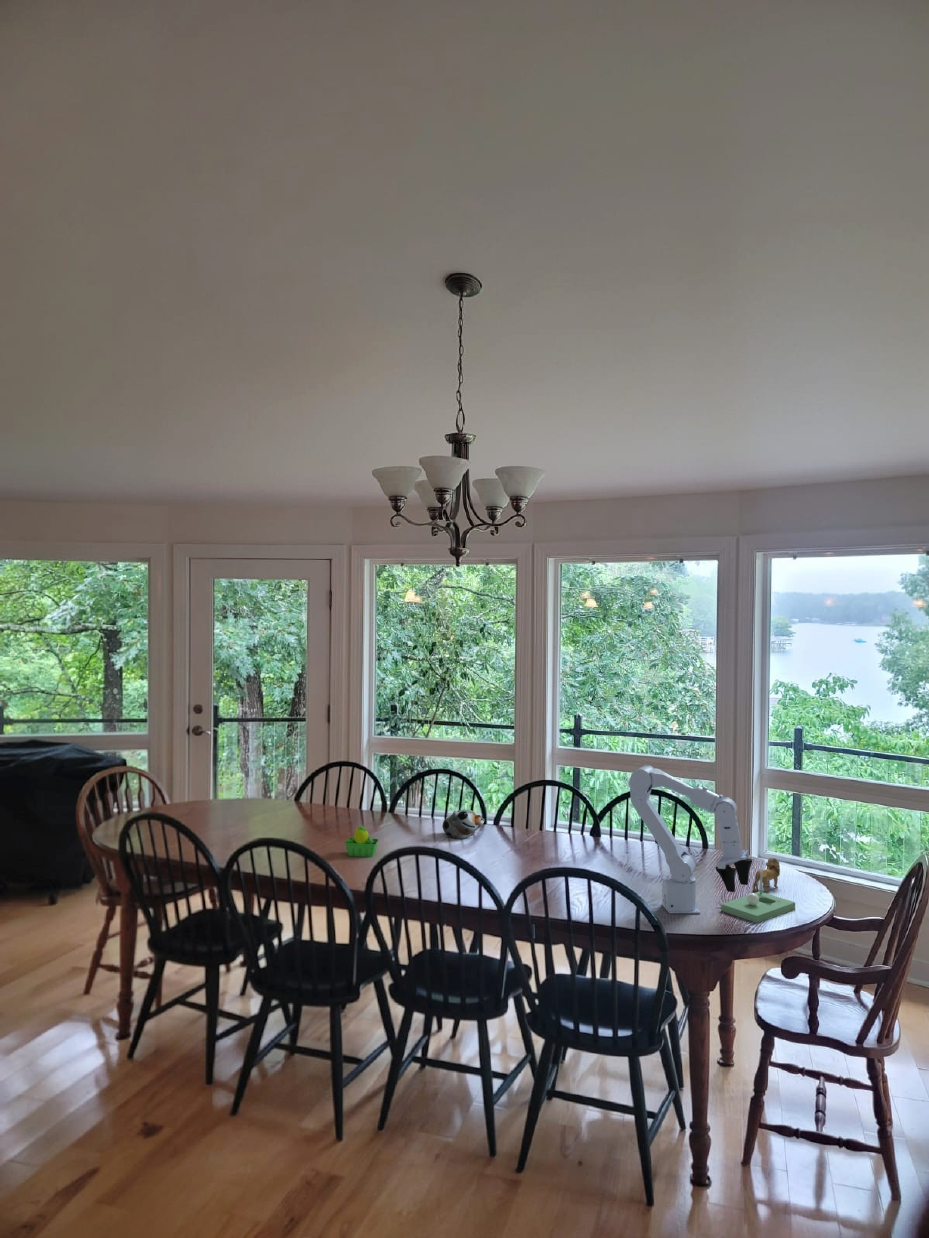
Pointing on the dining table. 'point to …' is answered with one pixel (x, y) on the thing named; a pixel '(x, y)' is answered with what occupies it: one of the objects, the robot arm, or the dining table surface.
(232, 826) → the dining table surface
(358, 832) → the fruit basket
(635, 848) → the dining table surface
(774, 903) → the putting mat
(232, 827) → the dining table surface
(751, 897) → the golf ball
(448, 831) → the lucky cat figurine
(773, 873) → the lion figurine
